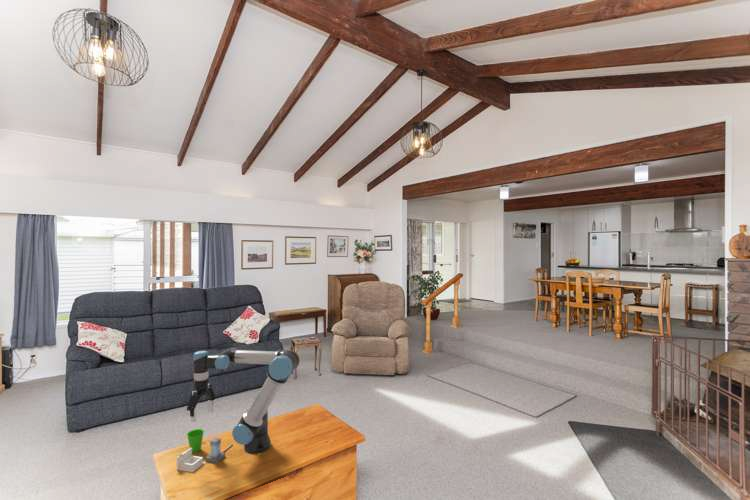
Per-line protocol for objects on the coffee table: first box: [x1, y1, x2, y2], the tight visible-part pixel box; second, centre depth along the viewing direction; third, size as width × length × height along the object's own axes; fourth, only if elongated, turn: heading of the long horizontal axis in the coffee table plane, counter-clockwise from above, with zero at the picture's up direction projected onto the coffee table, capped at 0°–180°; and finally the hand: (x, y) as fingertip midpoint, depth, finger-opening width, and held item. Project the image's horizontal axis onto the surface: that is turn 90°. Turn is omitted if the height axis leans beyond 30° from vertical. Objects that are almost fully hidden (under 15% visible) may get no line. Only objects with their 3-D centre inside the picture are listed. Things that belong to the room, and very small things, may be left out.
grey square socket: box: [205, 451, 226, 464], centre depth 210 cm, size 7×7×3 cm
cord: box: [222, 444, 234, 454], centre depth 220 cm, size 1×12×1 cm, turn 165°
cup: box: [186, 428, 205, 454], centre depth 219 cm, size 9×9×11 cm
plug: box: [209, 437, 222, 458], centre depth 210 cm, size 4×4×10 cm
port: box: [176, 447, 206, 473], centre depth 204 cm, size 10×10×8 cm
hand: (202, 416), depth 215 cm, fingers open, 13 cm apart
